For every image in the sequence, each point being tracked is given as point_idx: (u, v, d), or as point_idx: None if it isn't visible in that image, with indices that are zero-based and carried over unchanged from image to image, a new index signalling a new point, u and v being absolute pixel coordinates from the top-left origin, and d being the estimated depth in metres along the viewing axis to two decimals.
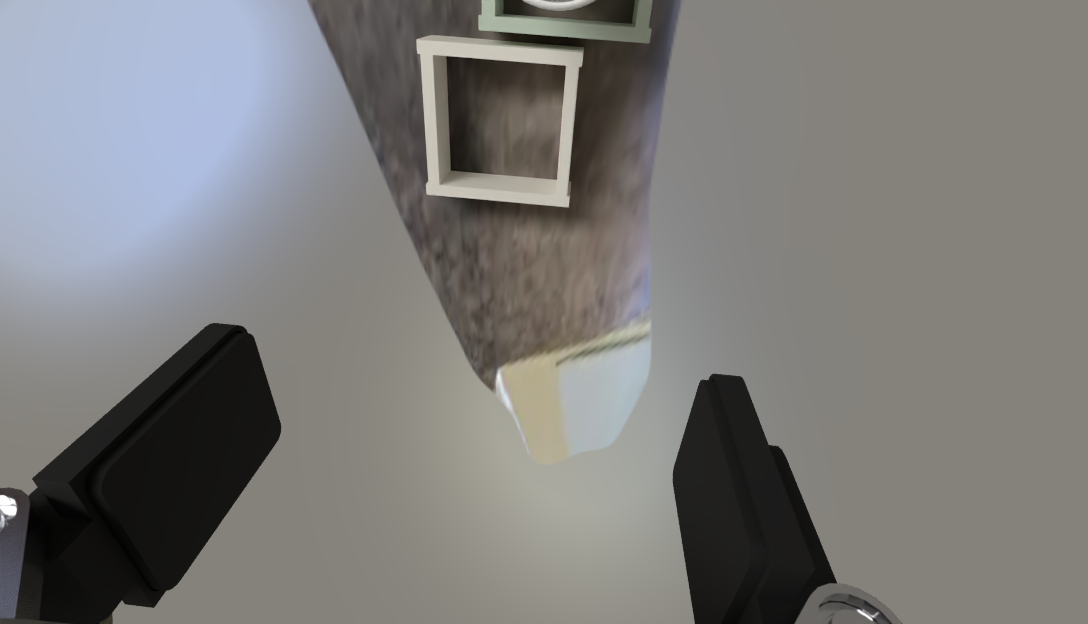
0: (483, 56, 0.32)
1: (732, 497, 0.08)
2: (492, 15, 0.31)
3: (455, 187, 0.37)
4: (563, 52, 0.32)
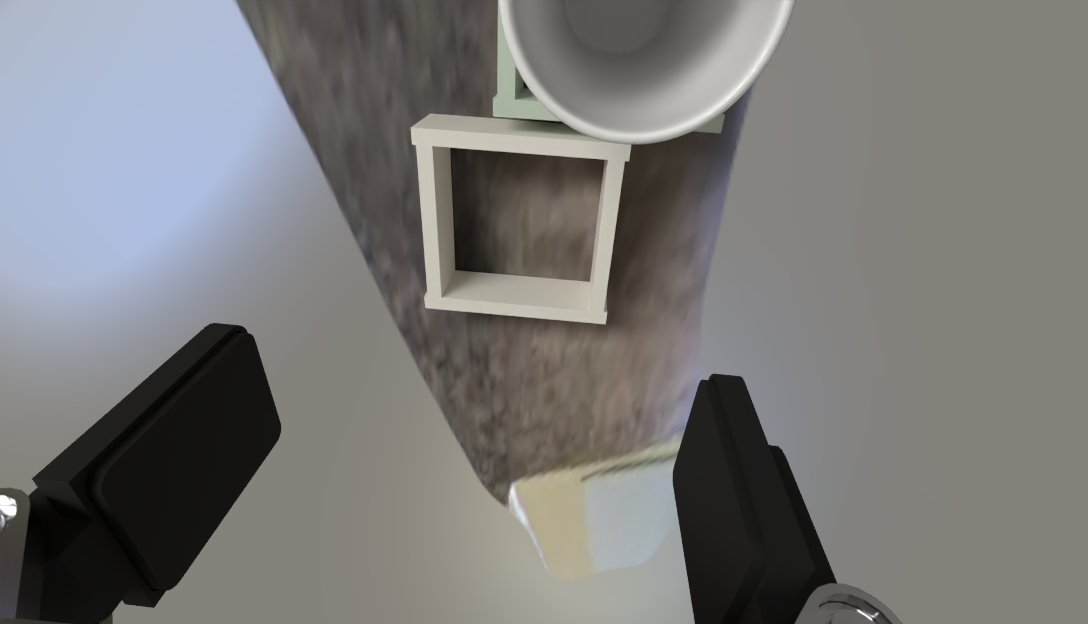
0: (499, 148, 0.25)
1: (732, 497, 0.08)
2: (511, 98, 0.23)
3: (461, 300, 0.29)
4: (605, 143, 0.24)
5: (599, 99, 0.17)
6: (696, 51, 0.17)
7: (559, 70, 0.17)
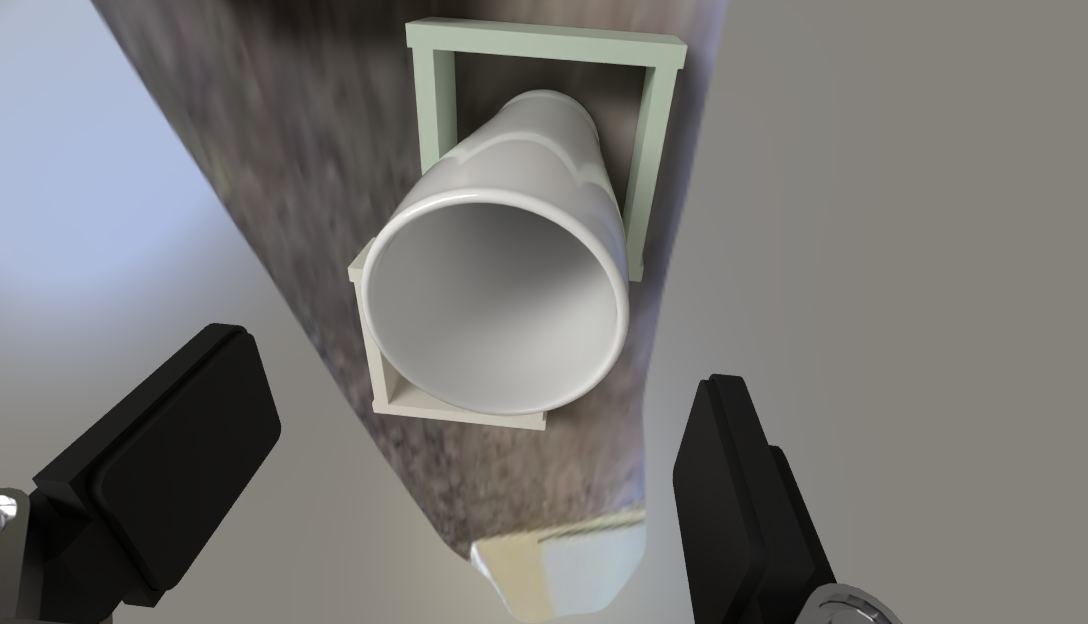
0: None
1: (732, 497, 0.08)
2: None
3: (407, 407, 0.31)
4: None
5: (497, 313, 0.18)
6: (590, 262, 0.18)
7: (459, 286, 0.18)
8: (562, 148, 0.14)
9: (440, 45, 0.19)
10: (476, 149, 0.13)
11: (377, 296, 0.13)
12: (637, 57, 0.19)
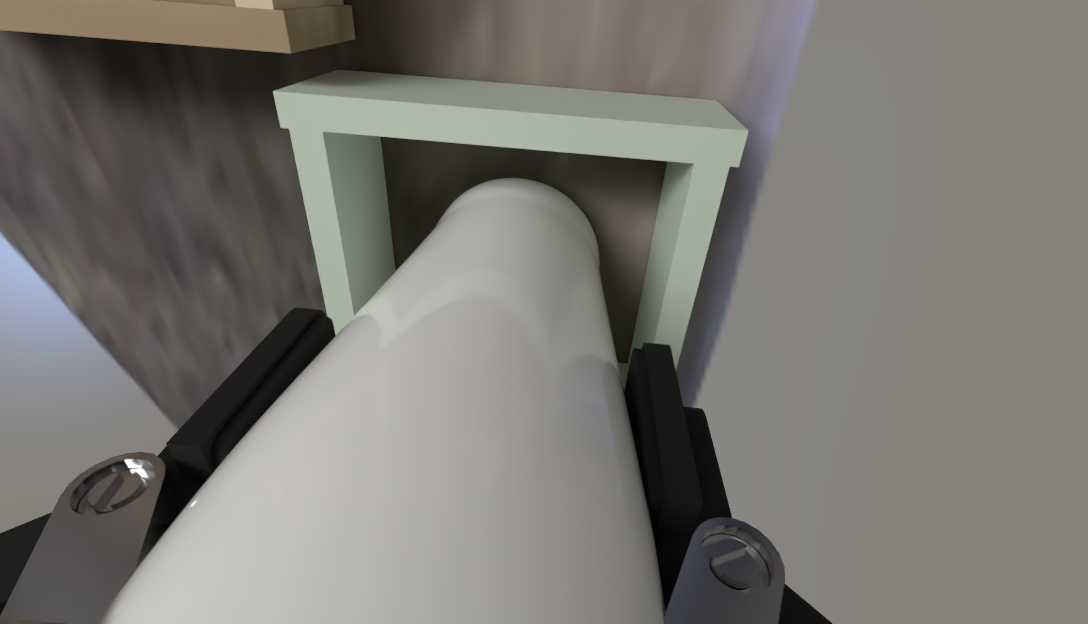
0: None
1: (643, 447, 0.08)
2: None
3: None
4: None
5: None
6: None
7: None
8: (521, 429, 0.06)
9: (334, 126, 0.12)
10: (291, 487, 0.05)
11: None
12: (662, 148, 0.11)
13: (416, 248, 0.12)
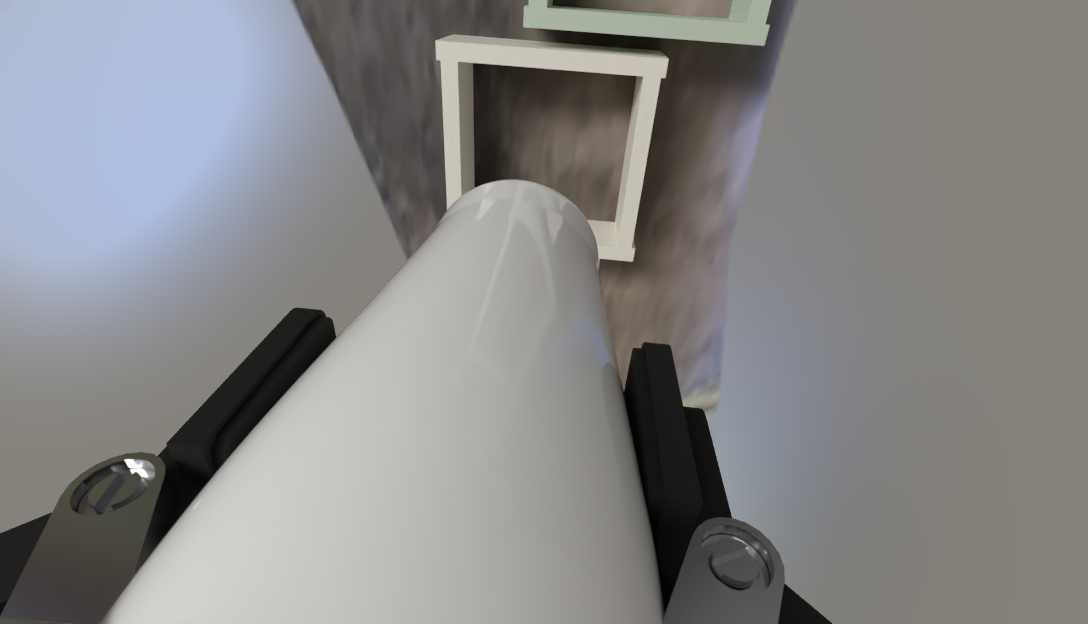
0: (528, 63, 0.23)
1: (643, 447, 0.08)
2: (543, 6, 0.22)
3: None
4: (641, 58, 0.23)
5: None
6: None
7: None
8: (521, 434, 0.06)
9: None
10: (291, 492, 0.05)
11: None
12: None
13: (416, 250, 0.12)
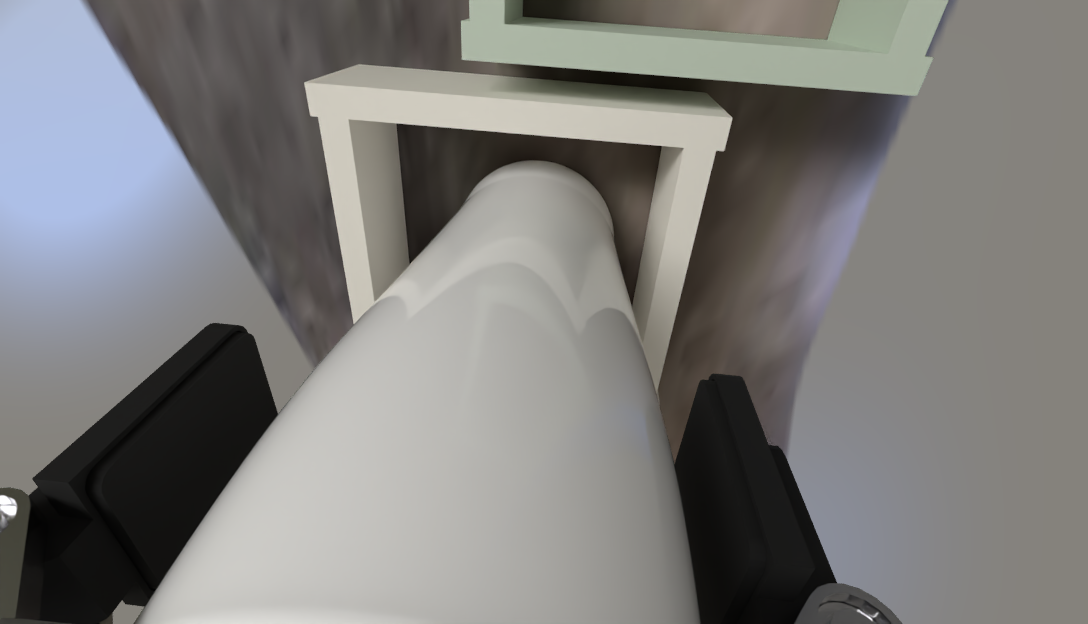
0: (474, 124, 0.13)
1: (732, 497, 0.08)
2: (497, 21, 0.12)
3: None
4: (680, 116, 0.12)
5: None
6: None
7: None
8: (564, 347, 0.07)
9: None
10: (384, 379, 0.06)
11: None
12: None
13: (450, 220, 0.13)
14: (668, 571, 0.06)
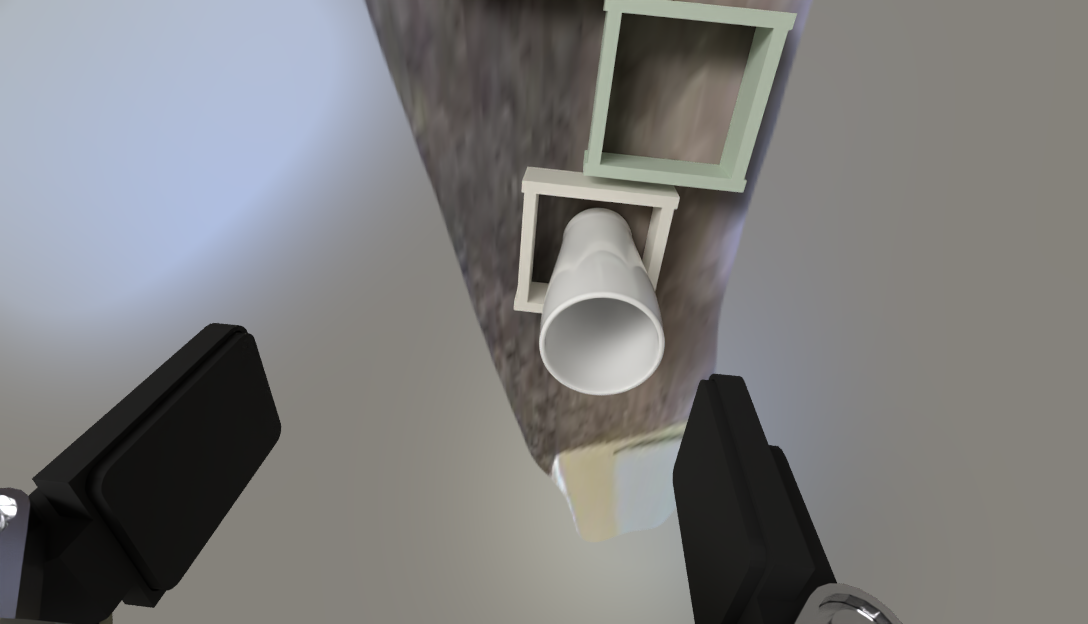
0: (584, 196, 0.34)
1: (732, 497, 0.08)
2: (597, 163, 0.33)
3: (542, 304, 0.39)
4: (661, 196, 0.34)
5: (582, 343, 0.32)
6: (634, 316, 0.33)
7: (562, 327, 0.32)
8: (630, 264, 0.28)
9: (627, 9, 0.29)
10: (592, 267, 0.27)
11: (545, 335, 0.27)
12: (762, 21, 0.28)
13: (572, 232, 0.35)
14: (655, 305, 0.27)
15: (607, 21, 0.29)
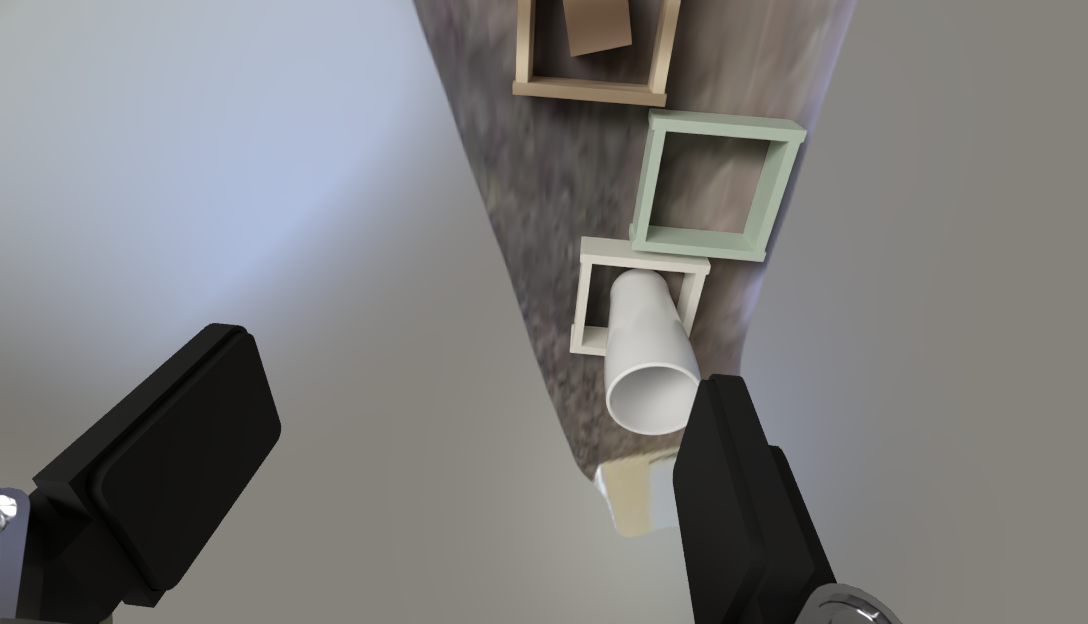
0: (631, 265, 0.42)
1: (732, 497, 0.08)
2: (643, 240, 0.41)
3: (594, 348, 0.47)
4: (695, 265, 0.41)
5: (634, 388, 0.40)
6: None
7: None
8: (674, 332, 0.36)
9: (670, 129, 0.36)
10: (646, 337, 0.35)
11: None
12: (779, 136, 0.35)
13: (622, 294, 0.42)
14: (696, 367, 0.34)
15: (654, 137, 0.36)
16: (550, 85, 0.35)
